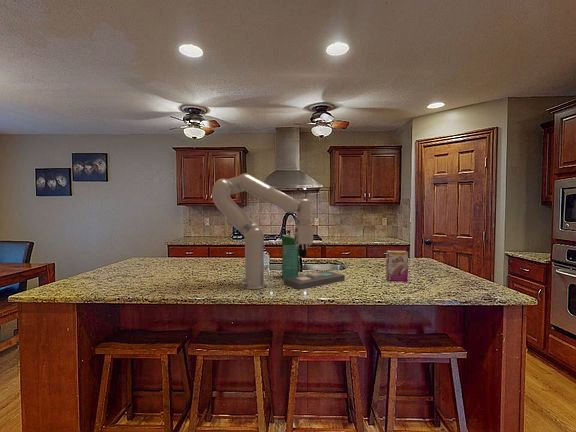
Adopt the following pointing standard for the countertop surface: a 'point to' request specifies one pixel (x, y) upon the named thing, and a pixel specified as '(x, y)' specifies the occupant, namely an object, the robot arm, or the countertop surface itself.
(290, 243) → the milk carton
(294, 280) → the keypad
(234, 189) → the robot arm
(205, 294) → the countertop surface
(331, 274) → the teal key
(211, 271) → the countertop surface
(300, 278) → the cream key
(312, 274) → the slate key
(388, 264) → the candy bar box
